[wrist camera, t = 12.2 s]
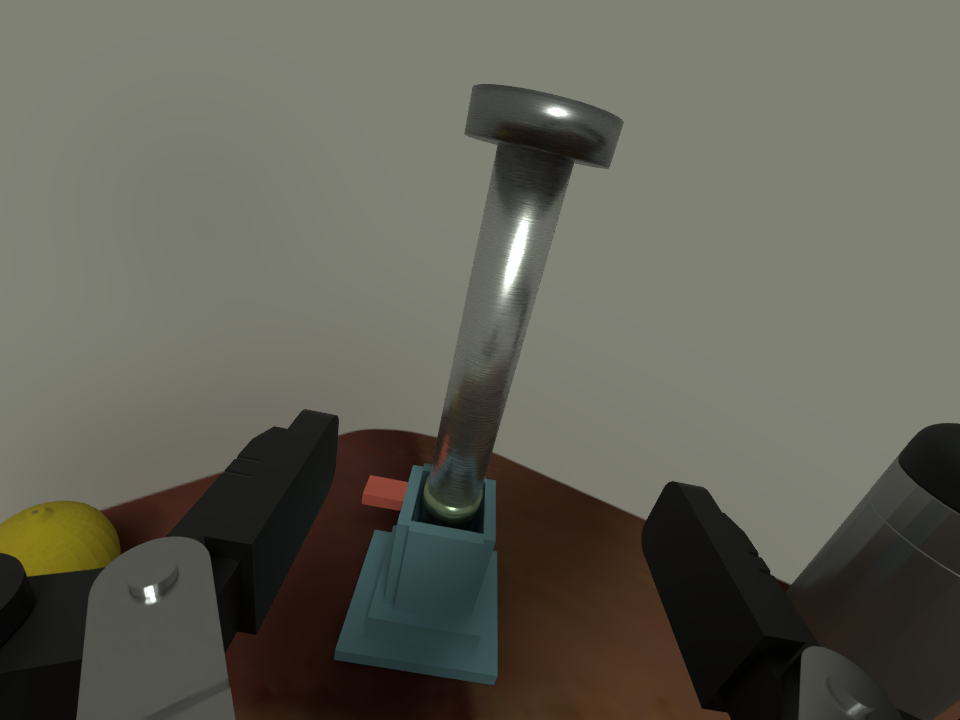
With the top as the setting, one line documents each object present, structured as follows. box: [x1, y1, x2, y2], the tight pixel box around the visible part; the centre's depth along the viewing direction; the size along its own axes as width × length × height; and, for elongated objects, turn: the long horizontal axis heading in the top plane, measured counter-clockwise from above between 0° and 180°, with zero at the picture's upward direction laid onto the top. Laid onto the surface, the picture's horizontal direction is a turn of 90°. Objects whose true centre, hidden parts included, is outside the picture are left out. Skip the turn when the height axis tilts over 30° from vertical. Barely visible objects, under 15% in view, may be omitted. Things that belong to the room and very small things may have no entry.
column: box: [420, 84, 623, 531], centre depth 21 cm, size 6×6×24 cm
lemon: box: [0, 501, 121, 577], centre depth 23 cm, size 6×6×8 cm
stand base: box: [334, 463, 498, 685], centre depth 27 cm, size 10×9×10 cm
